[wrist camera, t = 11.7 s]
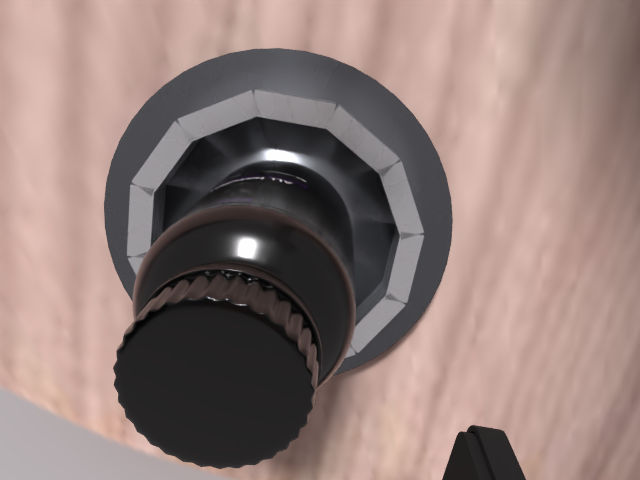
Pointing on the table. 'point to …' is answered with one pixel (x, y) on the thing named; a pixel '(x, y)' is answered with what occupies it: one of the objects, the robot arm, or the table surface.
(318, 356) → the supplement bottle
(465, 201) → the table surface
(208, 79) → the rosette plate
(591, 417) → the table surface
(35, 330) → the table surface
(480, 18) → the table surface
